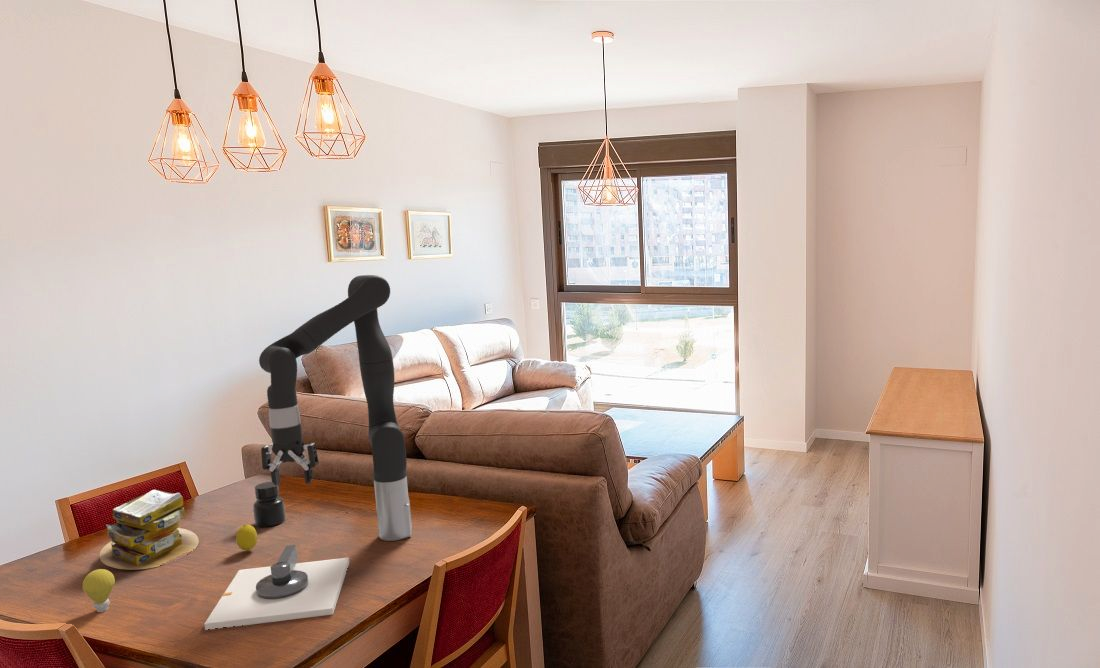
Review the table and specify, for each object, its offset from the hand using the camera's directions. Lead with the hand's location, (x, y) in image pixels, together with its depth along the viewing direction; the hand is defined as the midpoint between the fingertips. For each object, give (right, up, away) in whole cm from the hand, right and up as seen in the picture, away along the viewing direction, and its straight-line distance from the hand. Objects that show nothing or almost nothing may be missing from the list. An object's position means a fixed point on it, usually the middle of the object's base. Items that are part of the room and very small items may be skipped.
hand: (292, 483), depth 193 cm
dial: (+1, -23, -8) cm, 24 cm away
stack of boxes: (-48, -24, +20) cm, 57 cm away
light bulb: (-41, -28, -14) cm, 52 cm away
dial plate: (+2, -25, -11) cm, 27 cm away
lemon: (-18, -23, +16) cm, 33 cm away
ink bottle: (-20, -20, +38) cm, 48 cm away
